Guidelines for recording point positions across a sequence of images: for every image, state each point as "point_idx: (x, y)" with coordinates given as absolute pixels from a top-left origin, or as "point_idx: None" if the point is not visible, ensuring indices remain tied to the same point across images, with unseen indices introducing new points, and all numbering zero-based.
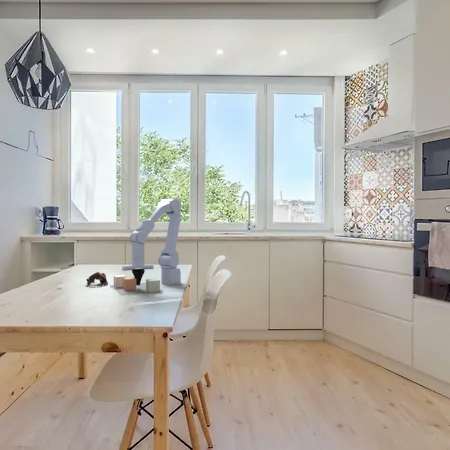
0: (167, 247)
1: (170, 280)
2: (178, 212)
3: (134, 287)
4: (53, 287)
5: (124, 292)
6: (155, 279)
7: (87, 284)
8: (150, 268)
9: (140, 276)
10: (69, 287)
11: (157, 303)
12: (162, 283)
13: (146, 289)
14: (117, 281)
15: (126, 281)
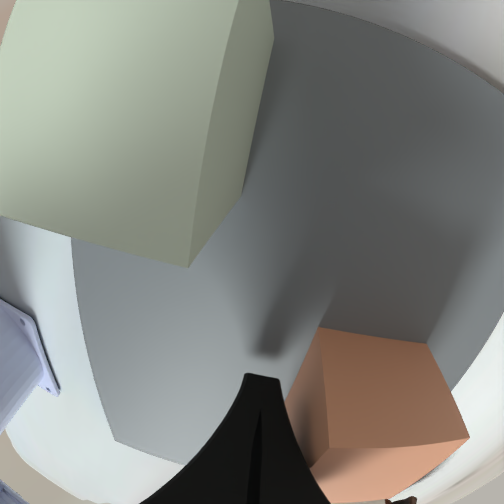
0: None
1: None
2: None
3: (341, 348)
4: (452, 491)
5: (500, 245)
6: (15, 108)
7: (407, 498)
8: (9, 499)
9: (227, 474)
10: (434, 490)
11: None
12: (32, 359)
13: (243, 176)
14: None
15: (451, 417)
